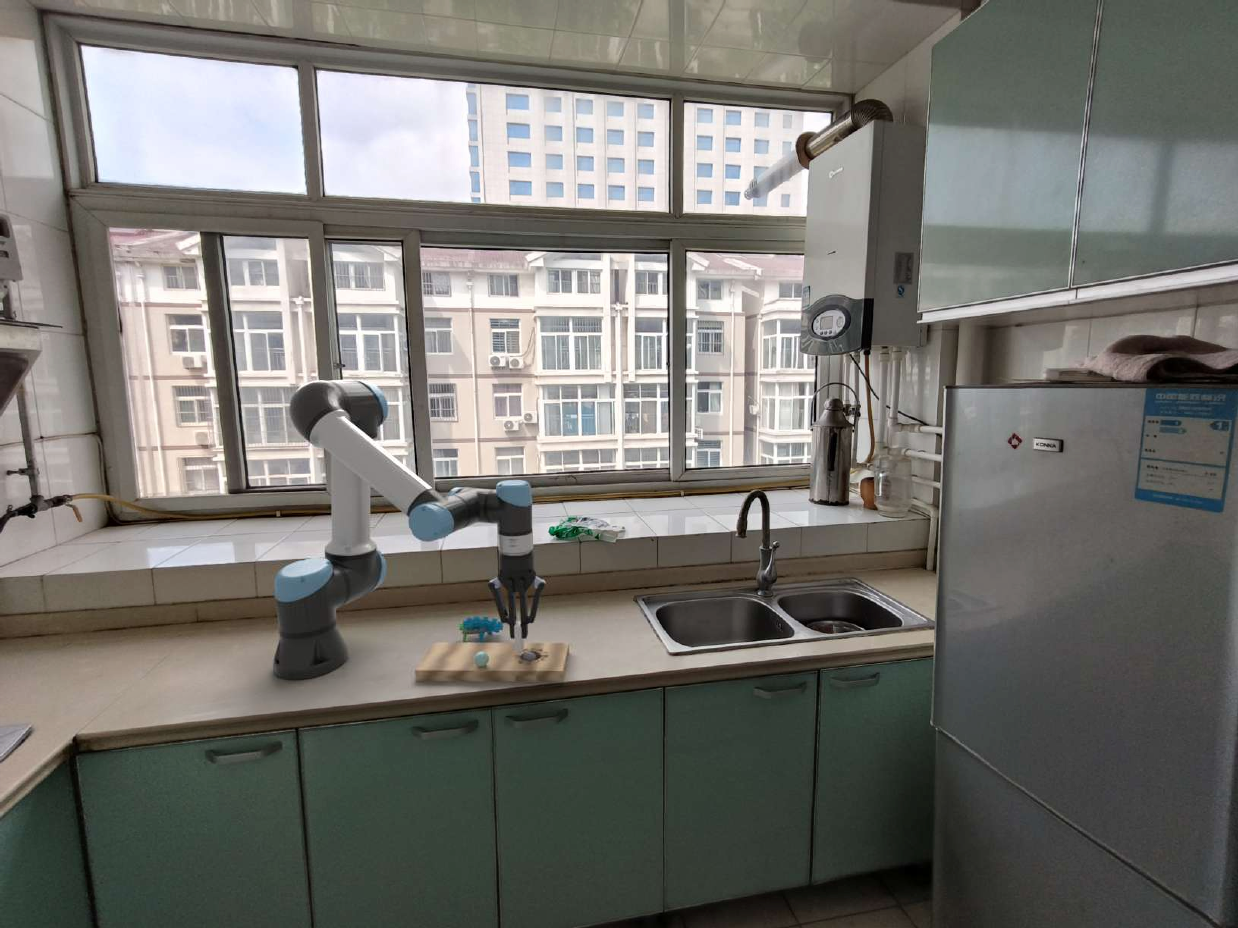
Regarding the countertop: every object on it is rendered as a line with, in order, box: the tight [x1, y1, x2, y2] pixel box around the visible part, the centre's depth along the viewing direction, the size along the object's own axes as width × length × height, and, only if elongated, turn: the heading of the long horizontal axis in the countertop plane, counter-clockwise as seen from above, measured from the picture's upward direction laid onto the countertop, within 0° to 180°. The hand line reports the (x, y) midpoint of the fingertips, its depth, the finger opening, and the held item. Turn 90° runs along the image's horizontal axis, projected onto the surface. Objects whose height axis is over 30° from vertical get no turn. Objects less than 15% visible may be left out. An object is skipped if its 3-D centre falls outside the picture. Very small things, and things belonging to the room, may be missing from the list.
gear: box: [458, 615, 504, 643], centre depth 143 cm, size 11×6×10 cm
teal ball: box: [474, 651, 489, 667], centre depth 126 cm, size 3×3×3 cm
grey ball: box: [522, 652, 537, 661], centre depth 131 cm, size 3×3×3 cm
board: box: [414, 642, 570, 683], centre depth 131 cm, size 32×13×2 cm, turn 89°
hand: (519, 651), depth 130 cm, fingers closed
